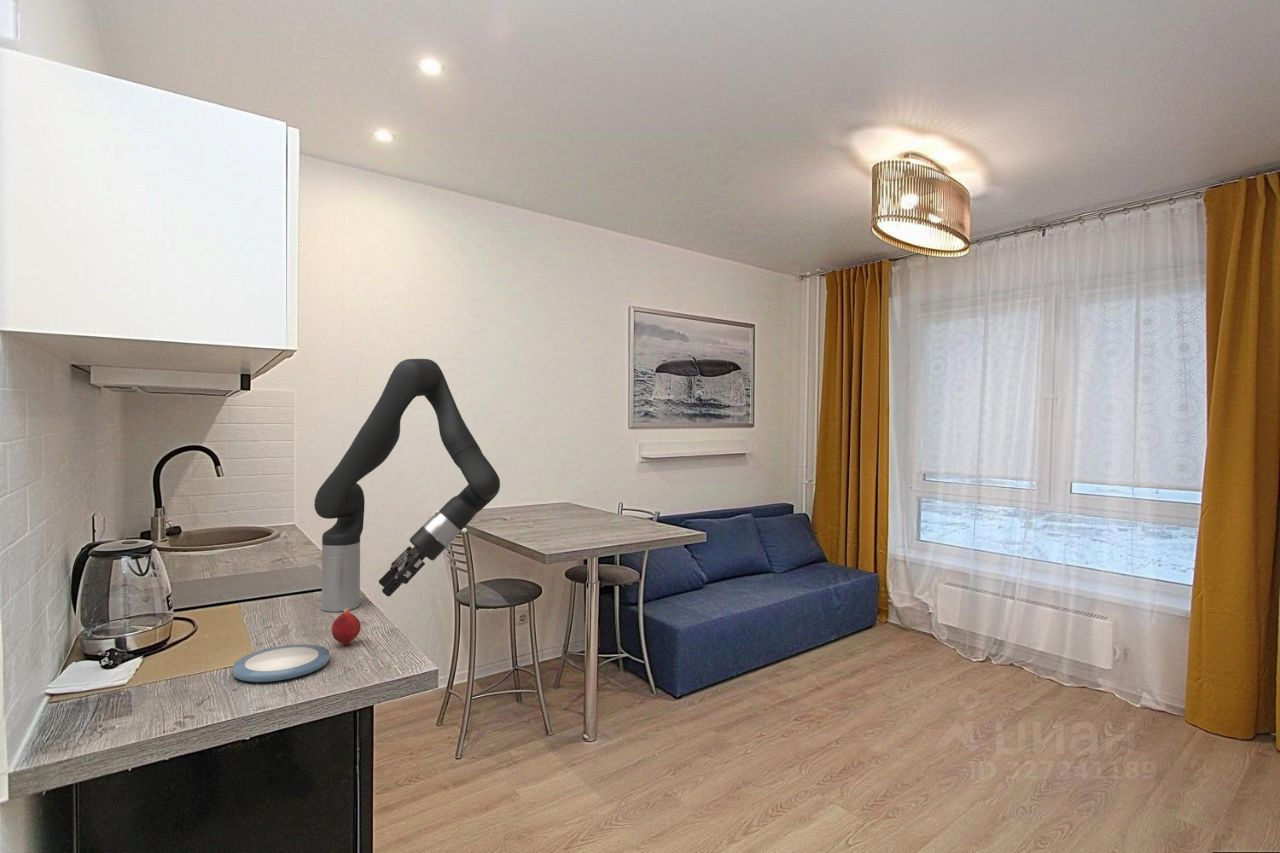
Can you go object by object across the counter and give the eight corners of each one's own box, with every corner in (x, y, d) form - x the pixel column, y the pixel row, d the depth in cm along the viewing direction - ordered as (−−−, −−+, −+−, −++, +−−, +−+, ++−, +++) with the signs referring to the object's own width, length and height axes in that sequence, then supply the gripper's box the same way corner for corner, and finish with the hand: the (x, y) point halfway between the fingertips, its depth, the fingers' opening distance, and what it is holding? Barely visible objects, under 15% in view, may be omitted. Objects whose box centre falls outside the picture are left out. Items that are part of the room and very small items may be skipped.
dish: (237, 660, 134) (237, 651, 134) (328, 648, 142) (328, 639, 142) (227, 691, 119) (227, 681, 119) (330, 675, 127) (330, 666, 127)
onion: (349, 650, 140) (349, 613, 140) (325, 648, 142) (325, 612, 141) (365, 641, 146) (365, 606, 146) (342, 639, 147) (343, 604, 147)
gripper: (419, 520, 157) (368, 572, 152) (428, 529, 145) (373, 586, 140) (441, 540, 160) (392, 592, 155) (452, 551, 147) (399, 607, 142)
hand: (383, 589), depth 147 cm, fingers open, 8 cm apart
